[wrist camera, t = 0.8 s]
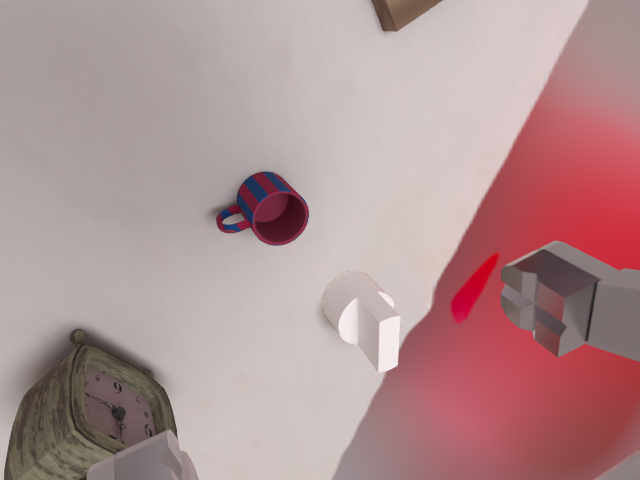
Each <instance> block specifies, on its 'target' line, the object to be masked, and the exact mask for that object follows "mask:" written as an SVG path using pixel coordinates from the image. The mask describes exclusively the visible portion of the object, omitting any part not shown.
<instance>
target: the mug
mask: <svg viewBox="0 0 640 480" xmlns="http://www.w3.org/2000/svg"><path fill="white" fill-rule="evenodd" d="M237 203H238V204H237V205H234V206H232V207H229V208H227V209H225V210H224V211H222V212H221V213H220V214H219V215H218V216H217V218H216V221H217V226H218V228H219V229H220V231H222V232H225V233H236V232H240V231H243V230H245V229H247V228H249V227H250V228H251V229H252V230H253V232H254V233H255V235H256V236H257V237H258V239H260V240H261V241H262V242H264V243H266V244H269V245H275V246H277V245H284V244H287V243H290V242H292V241H293V240H295V239H296V238H297V237H299V236H300V235H301V233H302V232H303V231H304V229H305V227H306V225H307V222H308V218H309V210H308V206H307V204H306V202H305V200H304V199H303V198H302V197H301V196H300V195H299V194H298V193H297V192H296V191H295V190H294V189H293V188H292V187H291V186H290V185H289V184H288V183H287V182H286V181H285V180H284V179H283V178H282V177H280V176H279V175H277V174H275V173H271V172H260V173H257V174H254V175H252V176H250V177H249V178H248V179H247V180H246V181H245V182H244V183H243V184H242V186H241V187H240V189H239V192H238V196H237ZM238 213H241V214H242V215H243V217H244V218H245V220H243V221H241V222H239V223H236V224H232V225H225V224H223V223H222V221H223V220H224V219H226V218H227V217H229V216H232V215H234V214H238Z"/></svg>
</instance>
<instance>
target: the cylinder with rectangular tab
mask: <svg viewBox="0 0 640 480" xmlns="http://www.w3.org/2000/svg"><path fill="white" fill-rule="evenodd" d="M321 305H322V310H323V312H324V313H325V315H326V316H327V318H328V319H329V321H330V322H331V323H332V325H333V326H334V328H335V329H336V330H337V332H338V333H339V335H340V336H341V338H342V339H343V340H344V341H346V342H347V343H350V344H355V345H358V346H359V347H360V348H361V350H362V351H363V352H364V354H365V355H366V356H367V358H368V359H369V360H370V362H371V363H372V364H373V366H374V367H375V369H376V370H377V371H378V372H383V371H387V370H390V369H392V368H394V367H396V366H397V365H398V349H399V330H400V315H399V314H398V313H397V312H396V311H395V310H394V303H393V301H392V299H391V298H390V297H389V295H388V294H387V293H386V292H385V291H384V290H383V289H382V288H381V287H380V286H379V285H378V284H377V283H376V282H375V281H374V280H373V279H372V278H371V277H370V276H369V275H368V274H367V273H364V272H362V271H356V270H354V271H348V272H345V273H343V274H341V275H339V276H338V277H336V278H335V279H333V280H332V281H331V282H330V283H329V285H328V286H327V288H326V289H325V291H324V293H323V296H322V302H321Z"/></svg>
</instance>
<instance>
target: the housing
mask: <svg viewBox="0 0 640 480" xmlns="http://www.w3.org/2000/svg"><path fill="white" fill-rule="evenodd" d="M372 1H373V4H374V7H375V10H376V12H377V15H378V18H379V20H380V23H381V26H382V28H383V31H398V30H400V29H401V28H403V27H404V26H406V25H407V24H409V23H410V22H412V21H413V20H415V19H416V18H417V17H419V16H420V15H422V14H423V13H425V12H426V11H428V10H429V9H431V8H432V7H434V6H435V5H437V4H438V3H439V2H441V1H442V0H372Z"/></svg>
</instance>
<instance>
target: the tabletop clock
mask: <svg viewBox="0 0 640 480" xmlns="http://www.w3.org/2000/svg"><path fill="white" fill-rule="evenodd" d="M85 338H86V334H85V333H84V332H83V331H81V330H77V331H75V332H73V333H72V334H71V342H72V343H74V344H76V348H75V350H74V351H73V352H71V353H70V354H69V355H68V356H67V357H66V358H65V359H63V360H62V361H61V362H60V363H59V364H58V365H57V366H56V367H54V368H53V369H52V370H51V371H50V372H49V373H48V374H46V375H45V376H44V377H43V378H42V379H41V380H40V381H38V382H37V383H36V384H35V385H34V386H33V387H32V388H31V389H30V390H29V391H28V392H27V393H26V394H25V396H24V397H23V399H22V401H21V403H20V406H19V409H18V412H17V415H16V418H15V420H14V423H13V427H12V431H11V436H10V440H9V446H8V452H7V458H6V463H5V469H4V480H87V474H88V471H89V469H90V466H91V465H93V464H95V463H98V462H100V461H102V460H104V459H106V458H108V457H111V456H113V455H115V454H117V453H118V452H120V451H123V450H125V449H127V448H129V447H131V446H134V445H136V444H138V443H140V442H142V441H144V440H147V439H149V438H151V437H153V436H155V435H158V434H160V433H162V432H164V431H166V430H172V432H173V433H174V435H175V436H176V437H177V429H176V424H175V420H174V415H173V410H172V407H171V404H170V401H169V398H168V396H167V394H166V392H165V389H164V388H163V387H162V386H160V385H159V384H158V383H157V382H156V381H155V380H153V377H154V374H153V373H152V372H151V371H149V370H147V371H144V372H141V371H140V370H138V369H137V368H135V367H134V366H132V365H130V364H129V363H127V362H126V361H124V360H122V359H120V358H118V357H116V356H114V355H112V354H110V353H108V352H106V351H104V350H102V349H100V348H98V347H96V346H93V345H90V344H86V343H83V342H84V341H85ZM81 343H82V344H81ZM177 439H178V437H177Z"/></svg>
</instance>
